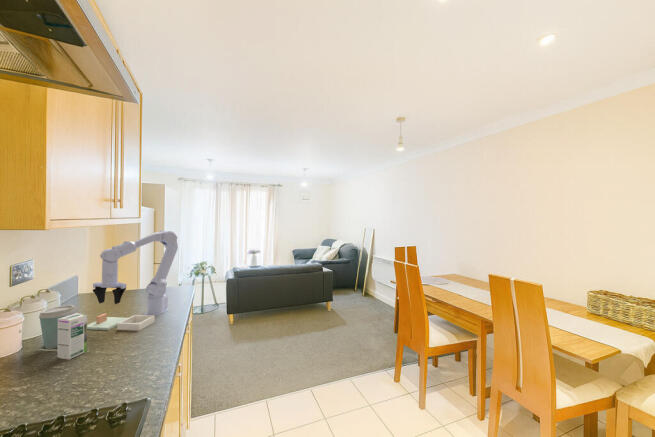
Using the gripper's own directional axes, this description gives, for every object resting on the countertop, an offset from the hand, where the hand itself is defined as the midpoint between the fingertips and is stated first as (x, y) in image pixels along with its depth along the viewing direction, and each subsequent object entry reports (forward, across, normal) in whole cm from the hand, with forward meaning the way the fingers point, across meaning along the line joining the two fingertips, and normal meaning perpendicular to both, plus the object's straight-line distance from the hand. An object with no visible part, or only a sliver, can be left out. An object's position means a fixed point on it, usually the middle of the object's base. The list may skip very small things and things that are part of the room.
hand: (109, 303), depth 122 cm
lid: (+10, 0, -1) cm, 10 cm away
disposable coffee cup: (+10, -3, -20) cm, 23 cm away
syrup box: (+10, +9, -26) cm, 29 cm away
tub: (+10, +14, -1) cm, 17 cm away
